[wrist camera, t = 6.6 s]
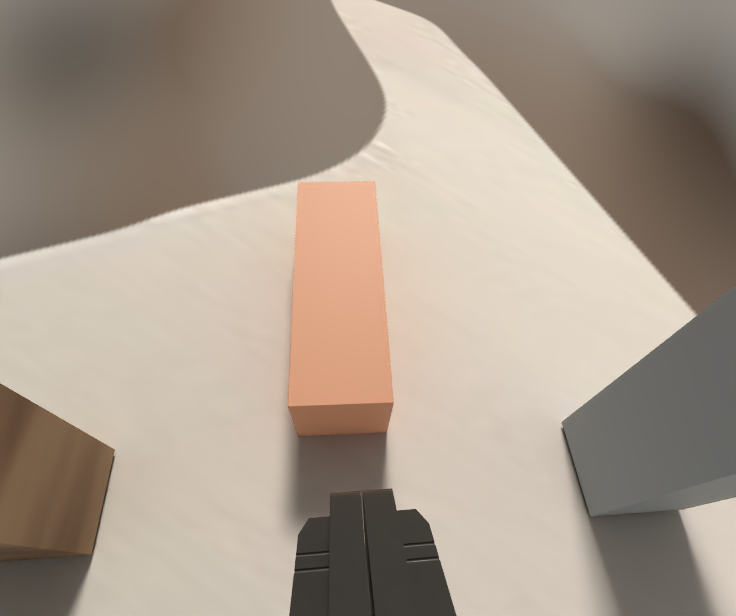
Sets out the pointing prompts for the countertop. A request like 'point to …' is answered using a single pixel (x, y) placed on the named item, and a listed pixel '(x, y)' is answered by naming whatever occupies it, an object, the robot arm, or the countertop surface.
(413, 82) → the countertop surface
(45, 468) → the walnut pillar
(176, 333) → the countertop surface
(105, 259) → the countertop surface
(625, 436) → the slate pillar
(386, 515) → the robot arm
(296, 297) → the terracotta pillar
